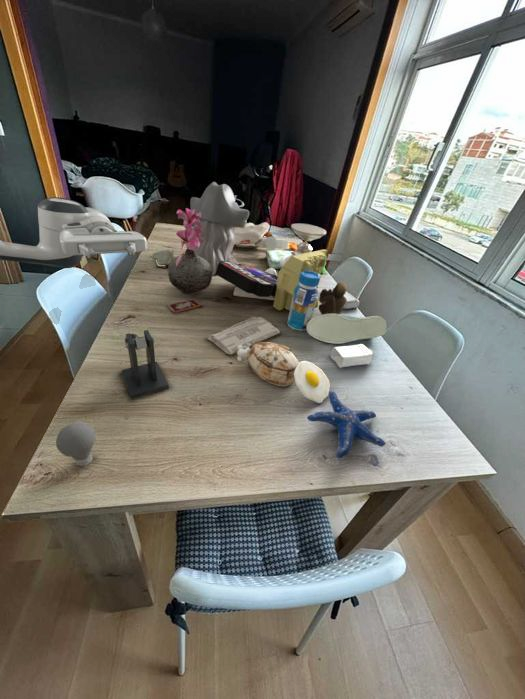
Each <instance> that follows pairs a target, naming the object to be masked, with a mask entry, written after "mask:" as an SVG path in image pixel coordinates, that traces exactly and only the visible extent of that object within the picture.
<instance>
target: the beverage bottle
mask: <svg viewBox="0 0 525 699" xmlns="http://www.w3.org/2000/svg"><path fill="white" fill-rule="evenodd" d="M320 281H321V275H319V274H317V273H315V272H313V271H302V272H301V273H300V277H299V284H298V285H297V286H296V288H295V290H294V293H295V294H294V295H293V297H292V303H291V308H290V311H289V314H288V318H287V322H286V323H287V325H288V327H289V328H290V329H293V330H294V331H300V332H301V331H307V328H306V327H307V323H308V322H309V321H310V320H311V319H312V317H313V313H314V310H315V308H314V307H315V304H316V298H317V299H318V297H319V296H318V295H319V294H318V292H319V291H318V288H316V287H317V286H318V287H319V284H320Z"/></svg>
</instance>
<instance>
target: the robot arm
mask: <svg viewBox="0 0 525 699" xmlns="http://www.w3.org/2000/svg"><path fill="white" fill-rule="evenodd" d="M37 218H38V219H37V220H38V230H39V231H38V232H39V233H38V234H39V242H38V244H37V245H28V244H22V243H15V242H8V241H3V240H1V239H0V261H5V262H16V263H26V264H34V265H42V266H43V265H44V266H49V267H56V268H61V269H72V268H74V267H76V266H78V264H79V263H80V262H81V261H82V259H83V257H82V256H85V257H86V258H87V259H92V258H95V255H104V254H105V255H106V254H121V253H127V255H128V256H136V253H140V252H141V253H142V252H146V251H147V250H148V240H147V238H146V237H145V236H144V235H143V234H142V233H140V232H138V231H133V230H128V231H127V230H126V231H125V230H123V231H122V230H121V231H119V230H117V228H116V227H115V226H114V224H113V223H112V222H111V221H110V220H111V219H109V218H108V217H107V215H105V214H104V213H103V212H102V211H100V210H98V209H96V208H94V207H86V206H84V205H83V204H81V203H80V202H78V201H76V200H72V199H70V198H64V197H59V196H53V197H48V198H45V199H44V200H41V201H40V202H39V203H38V204H37Z"/></svg>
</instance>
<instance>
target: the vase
mask: <svg viewBox="0 0 525 699" xmlns="http://www.w3.org/2000/svg"><path fill="white" fill-rule="evenodd" d="M194 212H195V209H193V210H191V208H188V207H185V211H183V210H181V209H177V211H176V215H177V220H183V222H182V224H183V227H184V229H182V230H177V231H176V234H175V235H176V236H177V237H178V238H180V239H181V240H180V244H181V248H183V247H184V245H185V248H186V249H187V250H186V249H185V251H186V252H185V251H184V252H183V253H181V254H180V255H179V256H177V257H175V258H174V257H173V258H174V259H173V260H172V261H171V263H170V264H169V265H167V266H168V268H167V274H168V281H169V282H170V284H171V286H173V287H174V289H177V290H179V291H182V293H184V294H189V295H195V294H198V293H199V292H202V291H204V290H206V289H207V288H209V287H210V286H211V282H212V278H213V275H212V268H211V266H210V264H209V263H208V262H207V261H206V260H205V259H203V258H202V257H200V256H197V255H196V253H195V251H194V249H195V246H196V245H198V247H199V245H200V242H201V243H203V241H204V238H200V237H199V238H198V237H197V236H199V235H200V234H202V233H203V232H202V231H201V230H200V229H199V227H198V226H196V228H195V230H193V229H192V228H193V226H194V224H197V225H199V226H200V227H201V228H202V225H201V223H200V222H199V221H198V220H197V217H201V213H200V212H199V213H197V214H194ZM199 241H200V242H199ZM184 253H185V254H184Z"/></svg>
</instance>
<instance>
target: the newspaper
mask: <svg viewBox="0 0 525 699" xmlns="http://www.w3.org/2000/svg"><path fill="white" fill-rule="evenodd" d="M280 333H281V332H280V330H279V329H278V328H277V327H276V326H274V325H273V324H272V323H270V321H268V320H266V318H264V317H261V316H257V317H256V316H252V317H250V318H248V319H244V320H242V321H240V322H238V323H236V324H234V325H231V326H229V327H227V328H226V329H223V330H221V331H218V332H215V333H213V334H210V337H209V338H207V340H209V341H210V342H212V343H213V344H214V345H215V346H217V347H218V348H220V349H221V350H222V351H223V352H224V353H225V354H227V355H233V354H237V352H238V346H239V345H241V344H242V341H243V340H244V342H245V343H244V342H243V344H242V346H247V347H249V348H250V347H252V346H254V345H255V344H256V343H259V342H264V341H266V340H267V339H270V338H272V337H274V336H276V335H279V334H280ZM245 338H249V339H251V341H249V342H246V340H245ZM240 340H241V341H240ZM247 343H249V344H250V343H251V345H252V346H251V345H250V346H249V344H247ZM244 348H246V347H244ZM244 348H243V349H244ZM244 350H245V349H244Z"/></svg>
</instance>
